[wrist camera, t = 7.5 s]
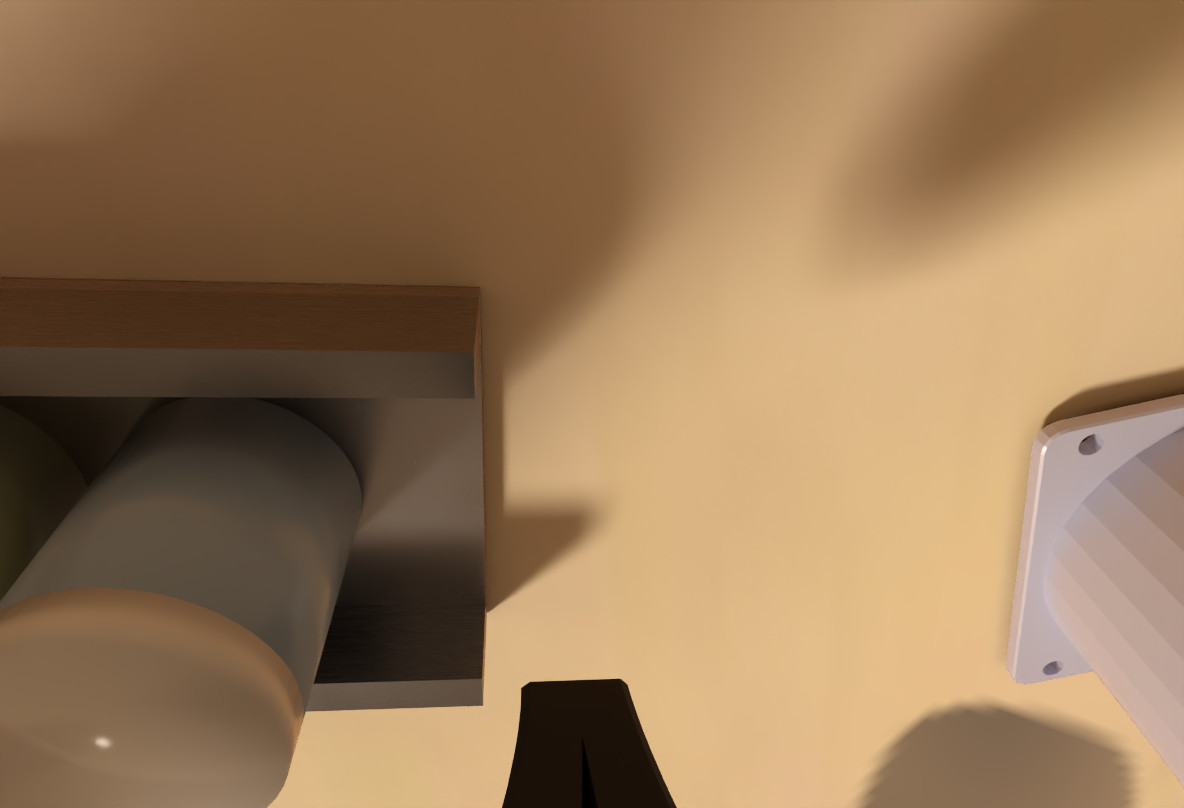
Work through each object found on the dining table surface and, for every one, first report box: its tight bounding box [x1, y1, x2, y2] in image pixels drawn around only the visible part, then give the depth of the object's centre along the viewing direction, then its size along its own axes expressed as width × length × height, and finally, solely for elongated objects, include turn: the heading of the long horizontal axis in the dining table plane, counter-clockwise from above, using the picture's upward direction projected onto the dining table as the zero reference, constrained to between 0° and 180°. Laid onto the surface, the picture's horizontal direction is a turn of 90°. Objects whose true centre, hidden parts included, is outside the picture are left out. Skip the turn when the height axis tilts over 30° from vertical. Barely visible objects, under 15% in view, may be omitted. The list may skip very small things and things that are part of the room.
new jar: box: [0, 397, 362, 808], centre depth 13 cm, size 4×4×5 cm
